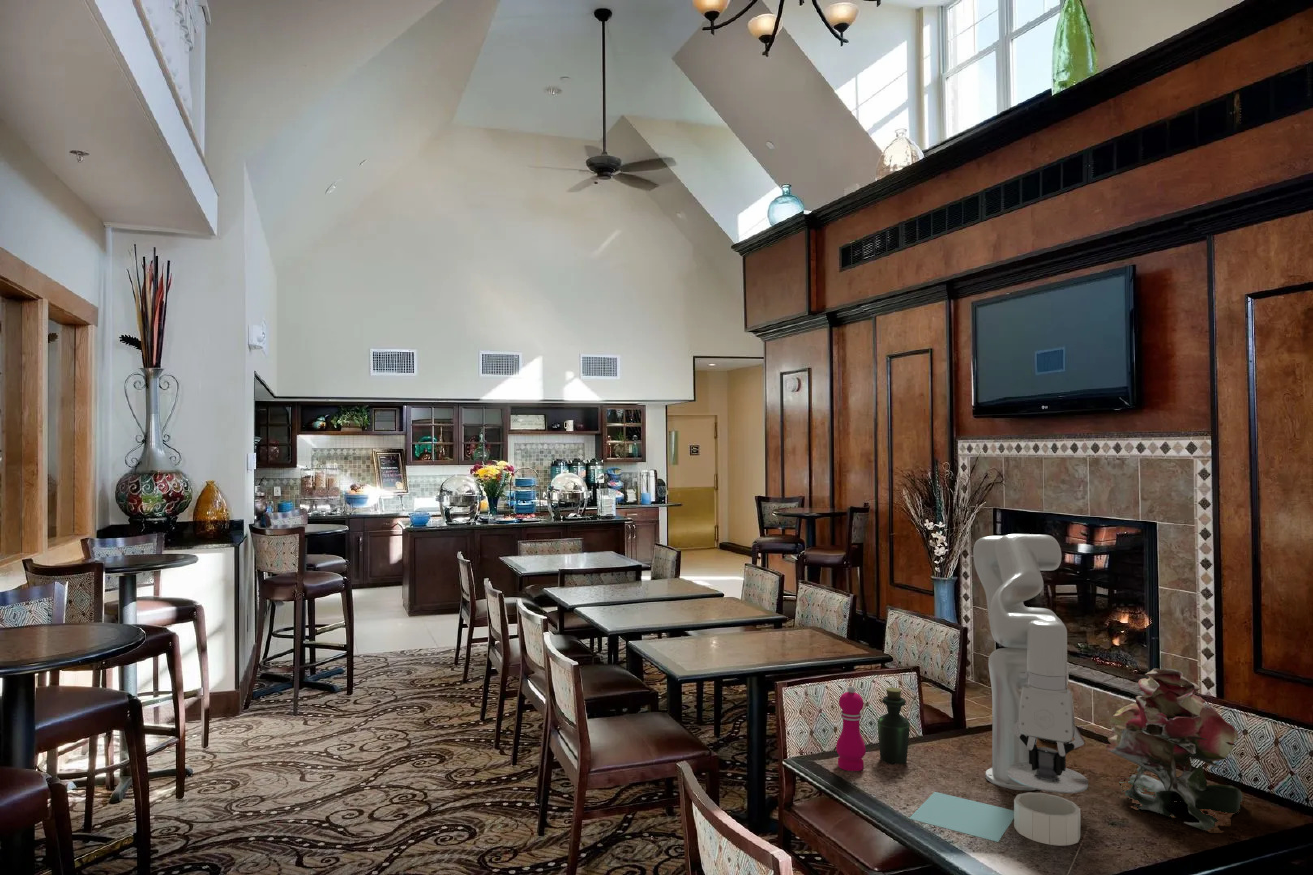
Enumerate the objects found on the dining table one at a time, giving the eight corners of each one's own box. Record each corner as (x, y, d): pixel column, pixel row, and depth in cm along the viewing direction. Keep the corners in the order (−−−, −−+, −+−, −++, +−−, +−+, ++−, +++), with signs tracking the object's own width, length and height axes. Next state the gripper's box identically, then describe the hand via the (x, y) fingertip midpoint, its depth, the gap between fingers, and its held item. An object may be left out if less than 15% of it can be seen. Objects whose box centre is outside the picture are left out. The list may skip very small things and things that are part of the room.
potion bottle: (913, 758, 214) (913, 688, 214) (906, 768, 207) (906, 695, 207) (881, 752, 218) (882, 683, 218) (873, 762, 211) (873, 690, 211)
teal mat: (934, 793, 191) (934, 791, 192) (1018, 813, 181) (1018, 811, 181) (908, 820, 177) (908, 818, 177) (998, 843, 166) (998, 841, 166)
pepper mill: (866, 773, 203) (866, 690, 204) (836, 770, 205) (836, 688, 205) (864, 762, 210) (865, 683, 211) (835, 760, 212) (836, 681, 212)
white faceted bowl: (1022, 816, 180) (1022, 788, 180) (1083, 831, 173) (1083, 801, 173) (1009, 836, 170) (1009, 806, 170) (1074, 852, 163) (1074, 821, 163)
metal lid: (1016, 761, 182) (1016, 734, 182) (1093, 776, 173) (1093, 748, 173) (1000, 781, 169) (1000, 752, 170) (1081, 799, 161) (1081, 768, 161)
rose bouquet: (1246, 798, 191) (1246, 667, 192) (1227, 840, 170) (1227, 692, 170) (1122, 769, 208) (1121, 649, 209) (1090, 804, 187) (1090, 669, 188)
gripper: (1000, 678, 174) (1000, 767, 173) (1089, 691, 164) (1089, 785, 164) (1008, 671, 180) (1008, 757, 179) (1094, 684, 170) (1095, 774, 170)
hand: (1047, 770), depth 171 cm, fingers closed on metal lid, 4 cm apart
